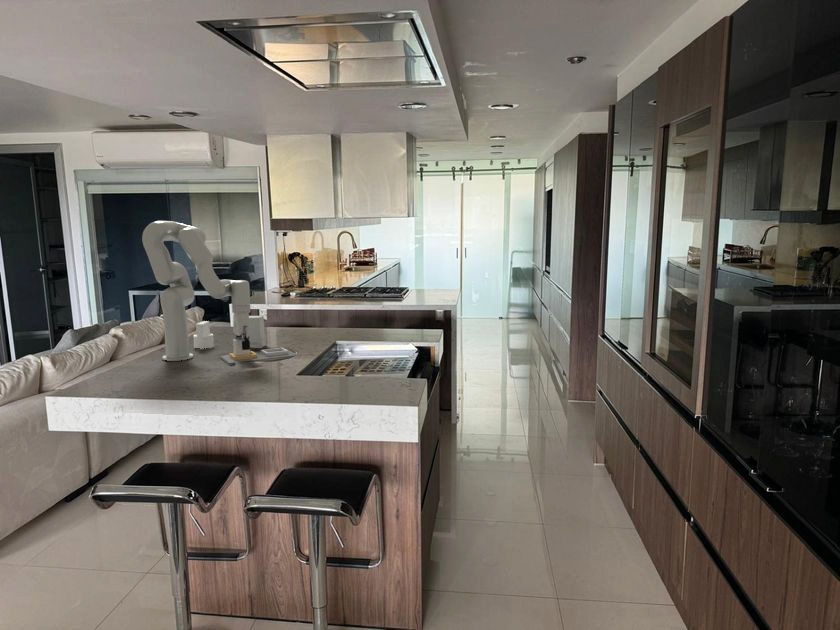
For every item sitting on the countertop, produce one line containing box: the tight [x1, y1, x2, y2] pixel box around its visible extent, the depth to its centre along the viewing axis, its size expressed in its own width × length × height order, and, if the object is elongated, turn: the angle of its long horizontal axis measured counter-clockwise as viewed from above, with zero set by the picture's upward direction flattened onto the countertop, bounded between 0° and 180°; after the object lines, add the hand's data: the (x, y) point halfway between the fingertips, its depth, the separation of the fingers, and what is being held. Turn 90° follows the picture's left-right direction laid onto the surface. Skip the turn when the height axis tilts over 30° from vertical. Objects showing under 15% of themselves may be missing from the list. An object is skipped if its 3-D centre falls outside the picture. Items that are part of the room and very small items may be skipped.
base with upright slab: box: [193, 320, 215, 350], centre depth 276 cm, size 9×9×12 cm
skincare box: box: [249, 315, 266, 349], centre depth 273 cm, size 8×7×16 cm
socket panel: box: [219, 347, 298, 366], centre depth 255 cm, size 16×30×2 cm, turn 122°
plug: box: [232, 337, 251, 356], centre depth 250 cm, size 4×6×9 cm, turn 123°
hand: (242, 347), depth 250 cm, fingers open, 9 cm apart
